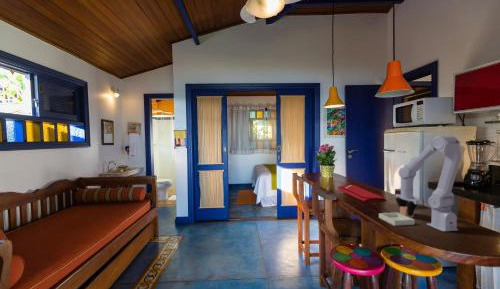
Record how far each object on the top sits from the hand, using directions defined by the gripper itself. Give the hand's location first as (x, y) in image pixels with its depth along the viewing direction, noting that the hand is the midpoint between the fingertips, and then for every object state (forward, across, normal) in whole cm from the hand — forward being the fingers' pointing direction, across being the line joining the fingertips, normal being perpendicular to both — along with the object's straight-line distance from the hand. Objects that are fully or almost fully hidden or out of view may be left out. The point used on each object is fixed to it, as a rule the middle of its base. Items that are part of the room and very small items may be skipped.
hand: (406, 213), depth 138 cm
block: (+2, 0, 0) cm, 2 cm away
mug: (+2, +17, -12) cm, 21 cm away
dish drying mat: (+2, +52, -3) cm, 52 cm away
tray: (+1, -6, +11) cm, 13 cm away
